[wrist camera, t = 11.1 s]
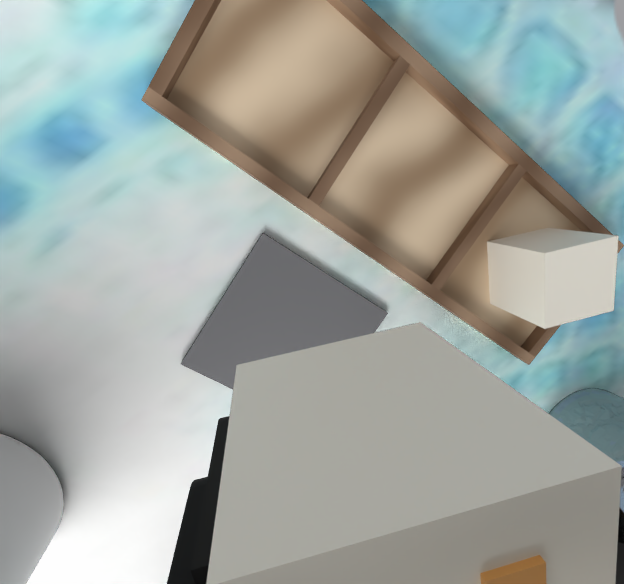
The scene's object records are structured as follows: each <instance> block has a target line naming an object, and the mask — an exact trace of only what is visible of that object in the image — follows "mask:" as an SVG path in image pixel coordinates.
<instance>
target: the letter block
mask: <svg viewBox="0 0 624 584" xmlns="http://www.w3.org/2000/svg"><path fill="white" fill-rule="evenodd" d="M621 469H622V466H621V465H620V464H618V463H617V462H615V461H614V460H613V459H611V458H610V457H608V456H607V455H606V454H604V453H603V452H601V451H600V450H599V449H597V448H596V447H594V446H593V445H592V444H590V443H589V442H587V441H586V440H585V439H583V438H582V437H580V436H579V435H578V434H576V433H575V432H573V431H572V430H571V429H569V428H568V427H566V426H565V425H564V424H562V423H561V422H559V421H558V420H557V419H555V418H554V417H552V416H551V415H550V414H548V413H547V412H545V411H544V410H543V409H541V408H540V407H538V406H537V405H536V404H534V403H533V402H531V401H530V400H529V399H527V398H526V397H524V396H523V395H522V394H520V393H519V392H517V391H516V390H515V389H513V388H512V387H510V386H509V385H508V384H506V383H505V382H503V381H502V380H501V379H499V378H498V377H496V376H495V375H494V374H492V373H491V372H489V371H488V370H487V369H485V368H484V367H482V366H481V365H480V364H478V363H477V362H475V361H474V360H473V359H471V358H470V357H468V356H467V355H466V354H464V353H463V352H461V351H460V350H459V349H457V348H456V347H454V346H453V345H452V344H450V343H449V342H447V341H446V340H445V339H443V338H442V337H440V336H439V335H438V334H436V333H435V332H433V331H432V330H431V329H429V328H428V327H426V326H425V325H424V324H422V323H421V322H419V323H415V324H411V325H407V326H402V327H398V328H394V329H389V330H385V331H381V332H376V333H372V334H368V335H364V336H359V337H355V338H351V339H346V340H342V341H338V342H334V343H329V344H325V345H321V346H316V347H312V348H308V349H303V350H299V351H295V352H291V353H286V354H282V355H278V356H273V357H269V358H265V359H260V360H256V361H252V362H248V363H243V364H239V365H237V366H236V373H235V380H234V388H233V395H232V402H231V409H230V416H229V424H228V431H227V438H226V445H225V452H224V460H223V467H222V474H221V481H220V488H219V495H218V503H217V510H216V517H215V524H214V531H213V539H212V546H211V553H210V560H209V567H208V575H207V582H206V584H615V582H616V563H617V544H618V525H619V507H620V488H621Z"/></svg>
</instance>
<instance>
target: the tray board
mask: <svg viewBox="0 0 624 584" xmlns="http://www.w3.org/2000/svg"><path fill="white" fill-rule="evenodd" d="M142 101H143V102H145V103H146V104H147V105H148V106H150V107H151V108H152V109H154V110H155V111H157V112H158V113H160V114H161V115H163V116H164V117H166V118H167V119H169V120H170V121H172V122H173V123H174V124H176V125H177V126H179V127H180V128H182V129H183V130H185V131H186V132H188V133H189V134H191V135H192V136H193V137H195V138H196V139H198V140H199V141H201V142H202V143H204V144H205V145H207V146H208V147H210V148H211V149H212V150H214V151H215V152H217V153H218V154H220V155H221V156H223V157H224V158H226V159H227V160H229V161H230V162H232V163H233V164H234V165H236V166H237V167H239V168H240V169H242V170H243V171H245V172H246V173H248V174H249V175H251V176H252V177H253V178H255V179H256V180H258V181H259V182H261V183H262V184H264V185H265V186H267V187H268V188H270V189H271V190H272V191H274V192H275V193H277V194H278V195H280V196H281V197H283V198H284V199H286V200H287V201H289V202H290V203H292V204H293V205H294V206H296V207H297V208H299V209H300V210H302V211H303V212H305V213H306V214H308V215H309V216H311V217H312V218H313V219H315V220H316V221H318V222H319V223H321V224H322V225H324V226H325V227H327V228H328V229H330V230H331V231H332V232H334V233H335V234H337V235H338V236H340V237H341V238H343V239H344V240H346V241H347V242H349V243H350V244H352V245H353V246H354V247H356V248H357V249H359V250H360V251H362V252H363V253H365V254H366V255H368V256H369V257H371V258H372V259H373V260H375V261H376V262H378V263H379V264H381V265H382V266H384V267H385V268H387V269H388V270H390V271H391V272H392V273H394V274H395V275H397V276H398V277H400V278H401V279H403V280H404V281H406V282H407V283H409V284H410V285H412V286H413V287H414V288H416V289H417V290H419V291H420V292H422V293H423V294H425V295H426V296H428V297H429V298H431V299H432V300H433V301H435V302H436V303H438V304H439V305H441V306H442V307H444V308H445V309H447V310H448V311H450V312H451V313H452V314H454V315H455V316H457V317H458V318H460V319H461V320H463V321H464V322H466V323H467V324H469V325H470V326H472V327H473V328H474V329H476V330H477V331H479V332H480V333H482V334H483V335H485V336H486V337H488V338H489V339H491V340H492V341H493V342H495V343H496V344H498V345H499V346H501V347H502V348H504V349H505V350H507V351H508V352H510V353H511V354H512V355H514V356H515V357H517V358H519V359H520V360H522V361H523V362H525V363H527V364H528V365H529V364H530V363H531V362H532V361H533V359H534V358H535V357H536V355H537V354H538V353H539V352H540V350H541V349H542V348H543V347H544V345H545V344H546V343H547V342H548V340H549V339H550V338H551V337H552V335H553V334H554V333H555V332H556V330H557V329H558V328H559V327H560V325H558V326H554V327H550V328H546V329H544V328H542V327H540V326H537V325H535V324H533V323H531V322H529V321H527V320H524V319H522V318H520V317H518V316H516V315H514V314H511V313H509V312H507V311H505V310H503V309H501V308H498V307H496V306H494V305H492V304H490V294H489V273H488V252H487V241H492V240H496V239H500V238H505V237H509V236H513V235H518V234H522V233H526V232H530V231H535V230H539V229H543V228H556V229H564V230H573V231H582V232H591V233H600V234H608V235H613V234H612V233H610V232H609V231H608V230H607V229H606V228H605V227H604V226H603V225H602V224H601V223H600V222H599V221H598V220H597V219H596V218H594V217H593V216H592V215H591V214H590V213H589V212H588V211H587V210H586V209H585V208H584V207H583V206H582V205H581V204H579V203H578V202H577V201H576V200H575V199H574V198H573V197H572V196H571V195H570V194H569V193H568V192H567V191H566V190H565V189H563V188H562V187H561V186H560V185H559V184H558V183H557V182H556V181H555V180H554V179H553V178H552V177H551V176H550V175H548V174H547V173H546V172H545V171H544V170H543V169H542V168H541V167H540V166H539V165H538V164H537V163H536V162H535V161H534V160H532V159H531V158H530V157H529V156H528V155H527V154H526V153H525V152H524V151H523V150H522V149H521V148H520V147H519V146H517V145H516V144H515V143H514V142H513V141H512V140H511V139H510V138H509V137H508V136H507V135H506V134H505V133H504V132H502V131H501V130H500V129H499V128H498V127H497V126H496V125H495V124H494V123H493V122H492V121H491V120H490V119H489V118H488V117H486V116H485V115H484V114H483V113H482V112H481V111H480V110H479V109H478V108H477V107H476V106H475V105H474V104H473V103H471V102H470V101H469V100H468V99H467V98H466V97H465V96H464V95H463V94H462V93H461V92H460V91H459V90H458V89H457V88H455V87H454V86H453V85H452V84H451V83H450V82H449V81H448V80H447V79H446V78H445V77H444V76H443V75H442V74H440V73H439V72H438V71H437V70H436V69H435V68H434V67H433V66H432V65H431V64H430V63H429V62H428V61H427V60H426V59H424V58H423V57H422V56H421V55H420V54H419V53H418V52H417V51H416V50H415V49H414V48H413V47H412V46H411V45H409V44H408V43H407V42H406V41H405V40H404V39H403V38H402V37H401V36H400V35H399V34H398V33H397V32H396V31H394V30H393V29H392V28H391V27H390V26H389V25H388V24H387V23H386V22H385V21H384V20H383V19H382V18H381V17H380V16H378V15H377V14H376V13H375V12H374V11H373V10H372V9H371V8H370V7H369V6H368V5H367V4H366V3H365V2H363V1H362V0H195V1H194V3H193V5H192V7H191V9H190V11H189V12H188V14H187V16H186V18H185V20H184V22H183V24H182V25H181V27H180V29H179V31H178V33H177V35H176V37H175V38H174V40H173V42H172V44H171V46H170V48H169V49H168V51H167V53H166V55H165V57H164V59H163V61H162V62H161V64H160V66H159V68H158V70H157V72H156V74H155V75H154V77H153V79H152V81H151V83H150V85H149V87H148V88H147V90H146V92H145V94H144V96H143V98H142ZM623 246H624V245H623V244H622V243H621V242H620V241H619V240H618V250H617V254H618V253H619V251H620V250H621V249H622V248H623Z"/></svg>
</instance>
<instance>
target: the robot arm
mask: <svg viewBox="0 0 624 584" xmlns="http://www.w3.org/2000/svg"><path fill="white" fill-rule="evenodd" d="M228 424H229V416H228V417H224V418H220V419H219V421H218V425H217V431H216V436H215V442H214V447H213V452H212V458H211V463H210V468H209V474H208V477H205V478H201V479H197V480H194V481H193V482H192V484H191V487H190V491H189V495H188V499H187V503H186V507H185V511H184V515H183V519H182V524H181V528H180V532H179V536H178V540H177V544H176V548H175V552H174V557H173V561H172V565H171V569H170V573H169V577H168V581H167V584H206V582H207V575H208V567H209V560H210V553H211V546H212V539H213V531H214V524H215V517H216V510H217V503H218V495H219V488H220V481H221V474H222V467H223V460H224V452H225V445H226V438H227V431H228ZM617 463H618V464H620V465H621V466H622V469H621V488H620V507H619V525H618V544H617V563H616V582H615V584H624V461H618V462H617Z"/></svg>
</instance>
